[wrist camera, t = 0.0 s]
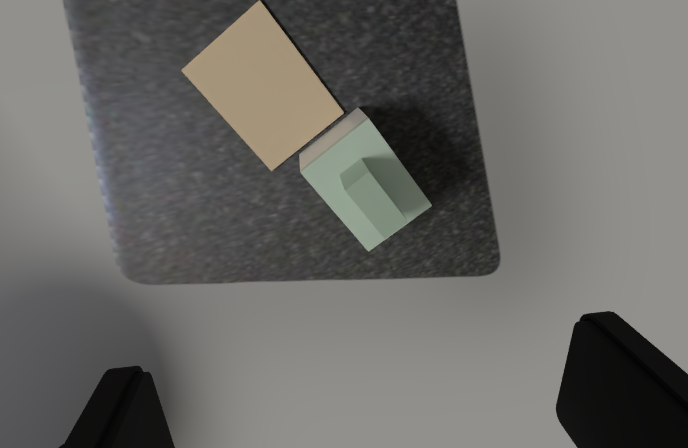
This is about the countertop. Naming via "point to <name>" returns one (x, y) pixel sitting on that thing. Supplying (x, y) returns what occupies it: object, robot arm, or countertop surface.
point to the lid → (366, 185)
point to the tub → (331, 137)
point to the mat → (263, 87)
